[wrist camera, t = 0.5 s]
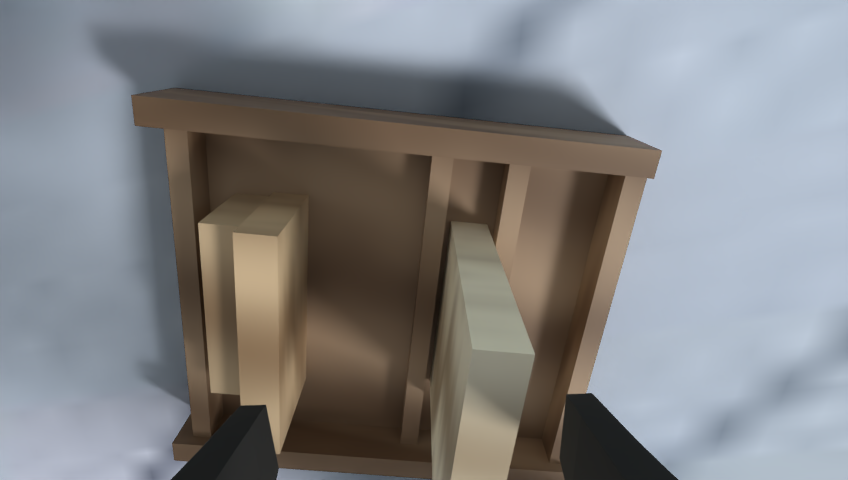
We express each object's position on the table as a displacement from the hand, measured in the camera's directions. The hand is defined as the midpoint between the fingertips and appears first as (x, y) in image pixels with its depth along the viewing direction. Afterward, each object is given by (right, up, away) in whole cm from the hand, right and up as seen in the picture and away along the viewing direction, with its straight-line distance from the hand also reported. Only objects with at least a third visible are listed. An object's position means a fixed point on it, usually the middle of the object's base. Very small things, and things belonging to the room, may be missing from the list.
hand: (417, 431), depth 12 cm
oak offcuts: (-6, +2, +9) cm, 12 cm away
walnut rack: (-1, +2, +10) cm, 11 cm away
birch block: (+2, +2, +10) cm, 10 cm away
